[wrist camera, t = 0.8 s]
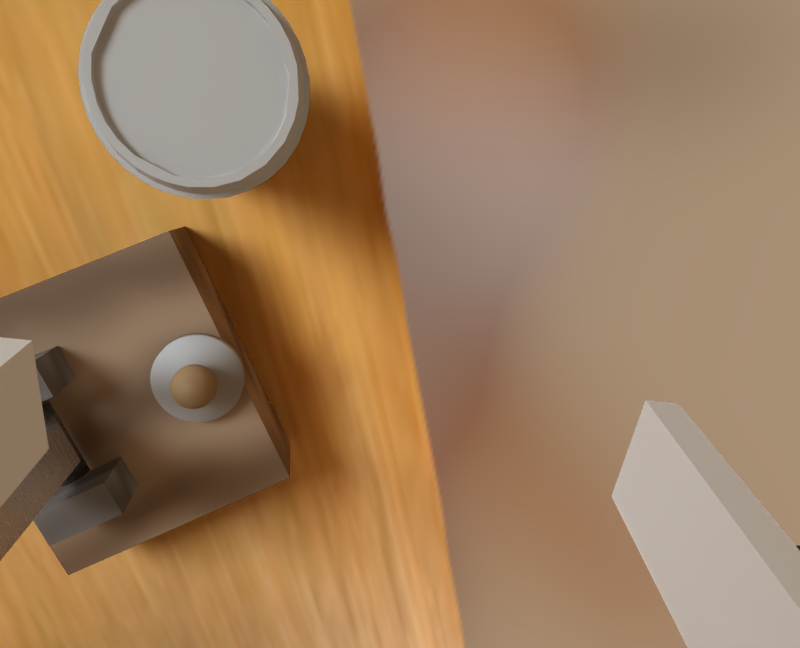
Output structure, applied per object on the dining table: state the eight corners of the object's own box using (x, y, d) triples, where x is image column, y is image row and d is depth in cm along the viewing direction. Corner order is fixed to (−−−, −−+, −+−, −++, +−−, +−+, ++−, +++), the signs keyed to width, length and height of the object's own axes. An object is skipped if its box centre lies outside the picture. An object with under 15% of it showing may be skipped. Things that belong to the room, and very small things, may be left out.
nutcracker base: (-36, 314, 35) (-130, 348, 28) (192, 223, 37) (164, 230, 29) (95, 529, 40) (46, 612, 32) (296, 441, 41) (297, 500, 33)
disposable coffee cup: (298, 207, 38) (300, 212, 26) (139, 187, 36) (65, 183, 24) (312, 48, 36) (321, -23, 24) (145, 19, 34) (69, -73, 22)
